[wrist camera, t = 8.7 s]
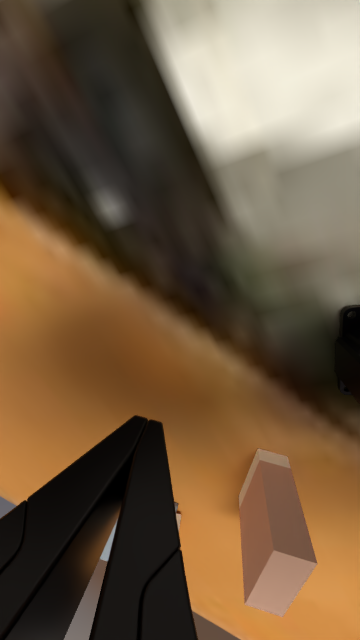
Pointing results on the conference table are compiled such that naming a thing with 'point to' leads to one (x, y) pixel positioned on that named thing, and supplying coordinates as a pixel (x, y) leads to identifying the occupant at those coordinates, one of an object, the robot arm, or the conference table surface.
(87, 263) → the conference table surface
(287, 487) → the terracotta block
